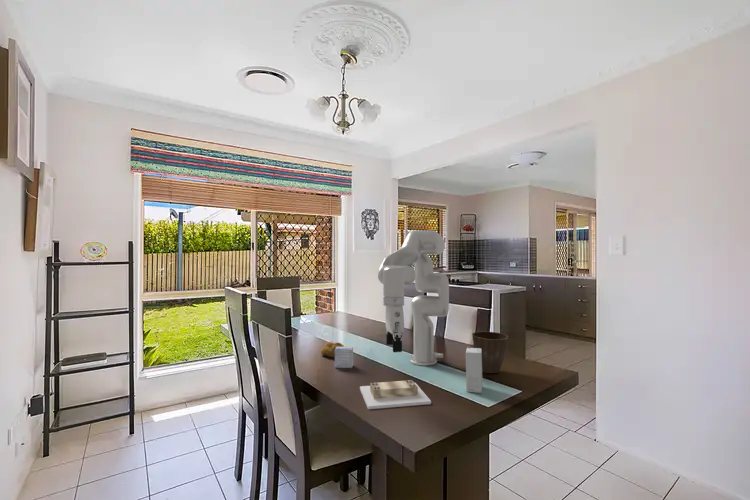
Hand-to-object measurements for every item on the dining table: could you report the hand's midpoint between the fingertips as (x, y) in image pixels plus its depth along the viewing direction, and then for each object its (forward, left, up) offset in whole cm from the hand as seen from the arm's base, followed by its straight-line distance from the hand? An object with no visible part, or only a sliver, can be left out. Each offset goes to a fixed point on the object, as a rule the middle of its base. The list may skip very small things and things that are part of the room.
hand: (393, 348), depth 130 cm
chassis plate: (0, 0, -17) cm, 17 cm away
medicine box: (+14, -37, -18) cm, 43 cm away
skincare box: (-32, -1, -18) cm, 36 cm away
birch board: (0, 0, -16) cm, 16 cm away
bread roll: (+18, -55, -18) cm, 60 cm away
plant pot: (-48, -18, -18) cm, 54 cm away
